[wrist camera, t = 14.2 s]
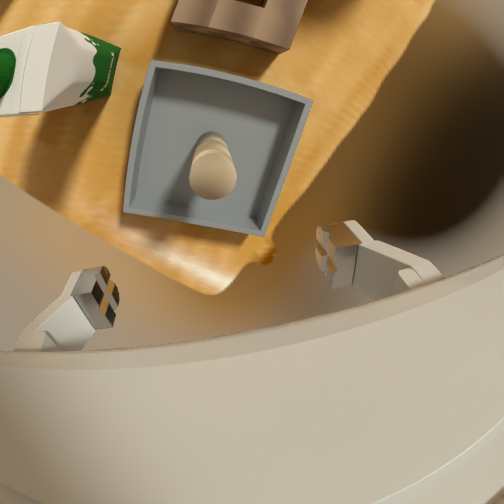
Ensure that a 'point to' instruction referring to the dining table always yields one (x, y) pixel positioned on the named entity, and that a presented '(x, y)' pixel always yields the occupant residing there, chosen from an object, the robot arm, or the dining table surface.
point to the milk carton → (53, 69)
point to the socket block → (242, 21)
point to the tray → (211, 120)
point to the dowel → (212, 167)
